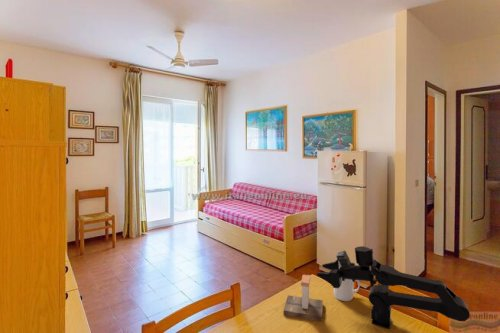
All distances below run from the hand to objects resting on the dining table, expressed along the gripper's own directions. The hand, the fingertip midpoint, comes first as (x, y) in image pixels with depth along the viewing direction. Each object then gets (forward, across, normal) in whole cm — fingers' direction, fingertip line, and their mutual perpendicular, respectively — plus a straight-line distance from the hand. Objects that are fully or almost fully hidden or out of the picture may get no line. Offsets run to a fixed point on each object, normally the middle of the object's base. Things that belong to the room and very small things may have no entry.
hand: (319, 269), depth 123 cm
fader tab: (+6, +6, +13) cm, 16 cm away
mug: (-7, -13, +18) cm, 23 cm away
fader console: (+7, +7, +15) cm, 18 cm away
